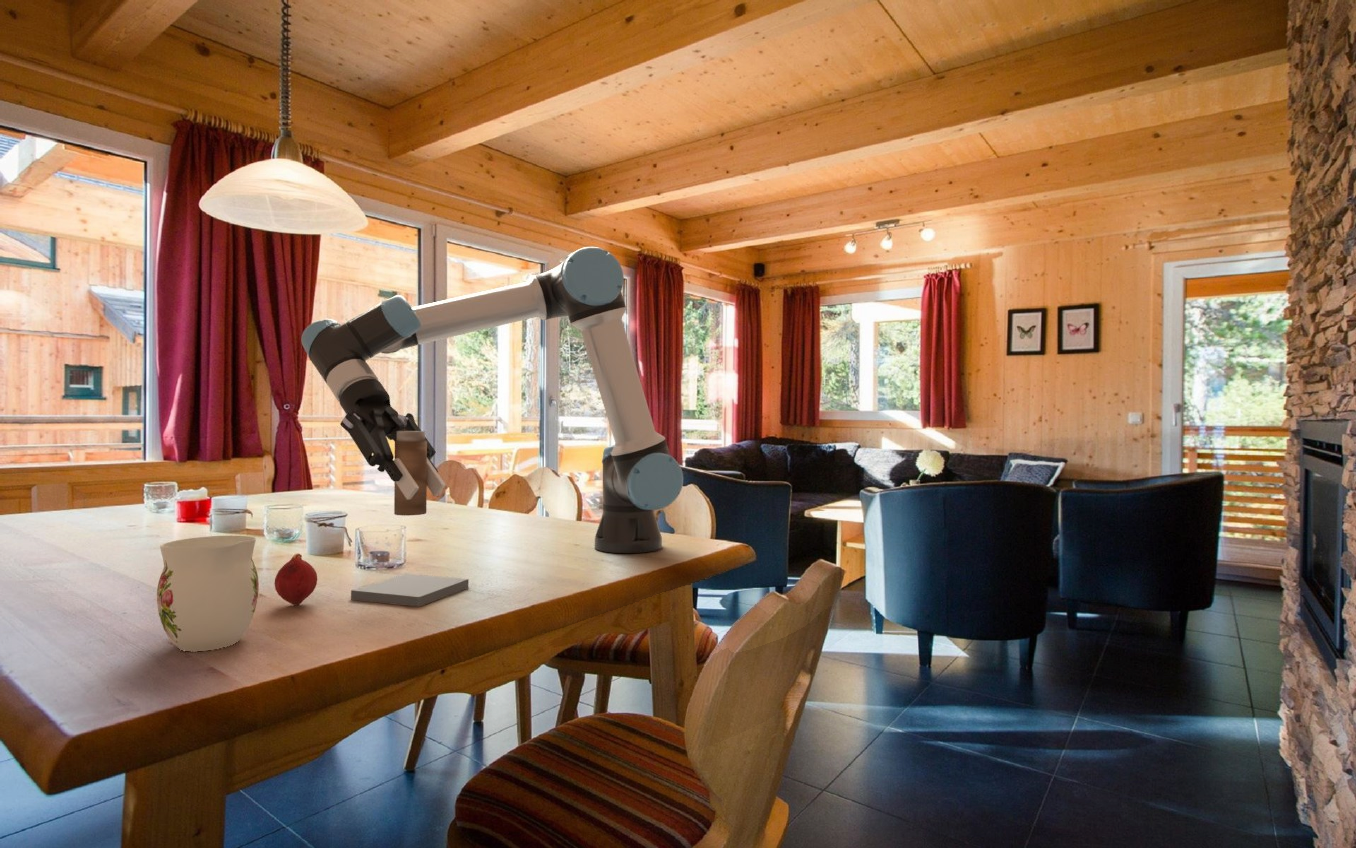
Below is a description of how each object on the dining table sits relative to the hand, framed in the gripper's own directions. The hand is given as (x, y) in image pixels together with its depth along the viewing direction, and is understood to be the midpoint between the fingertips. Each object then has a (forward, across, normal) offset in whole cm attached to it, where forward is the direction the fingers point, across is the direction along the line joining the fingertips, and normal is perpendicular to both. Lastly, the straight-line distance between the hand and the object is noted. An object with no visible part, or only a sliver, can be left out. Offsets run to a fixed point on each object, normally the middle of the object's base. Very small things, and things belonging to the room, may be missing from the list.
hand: (426, 492), depth 118 cm
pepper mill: (0, 0, -5) cm, 5 cm away
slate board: (+10, 0, -15) cm, 17 cm away
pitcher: (+8, +31, -17) cm, 36 cm away
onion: (+3, +14, -22) cm, 26 cm away
